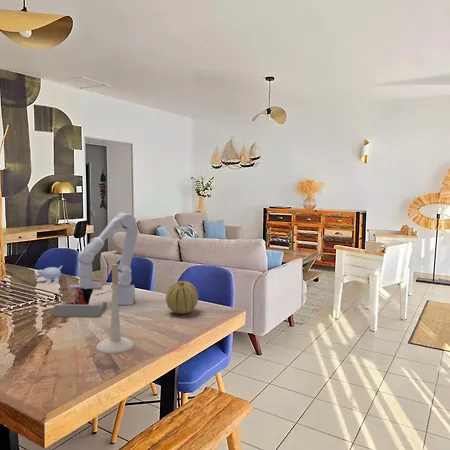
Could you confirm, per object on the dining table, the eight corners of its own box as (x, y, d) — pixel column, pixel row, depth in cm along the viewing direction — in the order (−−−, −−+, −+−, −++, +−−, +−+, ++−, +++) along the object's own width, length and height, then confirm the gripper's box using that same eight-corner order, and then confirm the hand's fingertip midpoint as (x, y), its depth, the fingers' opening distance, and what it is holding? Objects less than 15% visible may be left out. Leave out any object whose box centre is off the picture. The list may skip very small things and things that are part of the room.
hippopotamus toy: (35, 281, 243) (34, 265, 243) (62, 279, 249) (62, 263, 249) (34, 285, 234) (34, 268, 233) (63, 283, 240) (62, 266, 239)
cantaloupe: (191, 307, 196) (191, 276, 194) (203, 315, 182) (203, 282, 181) (161, 310, 189) (161, 278, 188) (171, 319, 176) (171, 285, 175)
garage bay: (106, 308, 191) (106, 297, 191) (98, 317, 178) (98, 305, 177) (65, 307, 190) (65, 297, 190) (54, 316, 177) (54, 305, 176)
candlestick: (98, 356, 137) (97, 267, 134) (94, 342, 148) (93, 260, 146) (137, 350, 142) (137, 265, 139) (130, 338, 153) (130, 259, 151)
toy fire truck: (73, 316, 177) (73, 293, 176) (68, 309, 188) (68, 287, 187) (89, 314, 181) (89, 291, 180) (84, 307, 191) (84, 285, 191)
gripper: (103, 274, 194) (104, 302, 195) (72, 274, 193) (73, 302, 194) (100, 277, 187) (100, 306, 188) (67, 277, 186) (68, 306, 187)
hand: (86, 304), depth 191 cm, fingers closed
